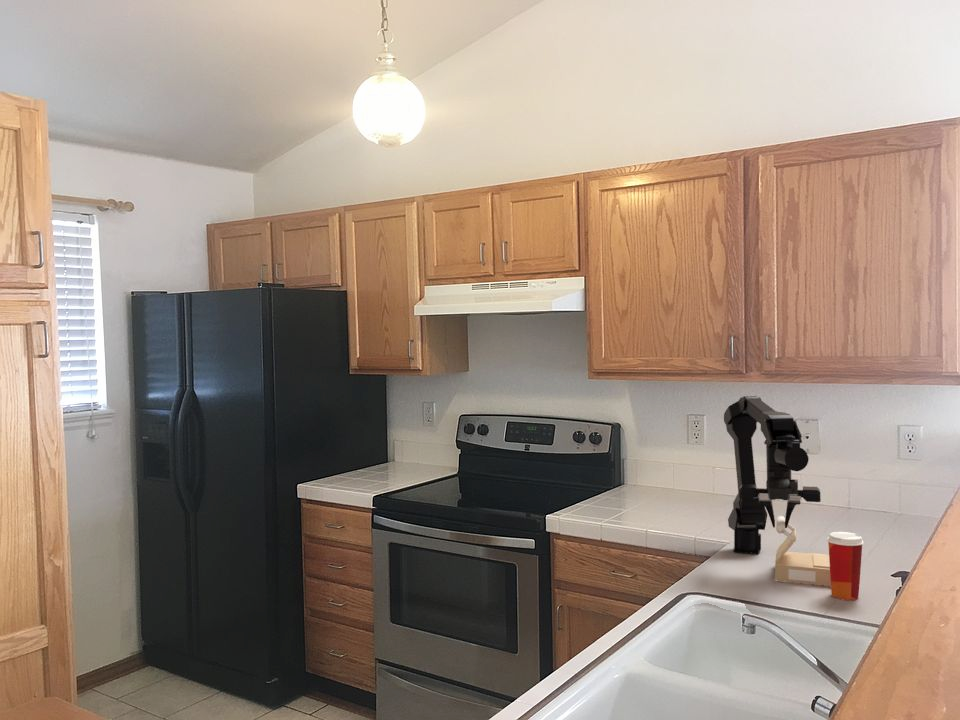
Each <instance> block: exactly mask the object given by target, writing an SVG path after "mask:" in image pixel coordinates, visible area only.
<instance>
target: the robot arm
mask: <svg viewBox="0 0 960 720" xmlns="http://www.w3.org/2000/svg"><path fill="white" fill-rule="evenodd" d="M723 422H724V424H725V427H726V432H727V433H728V435H729V436H730V438H732V440H733V448H734V457H735V458H734V459H735V471H736V481H737V494H736V496H735V499H734V500H733V502H732V504H733V506H732V507H733V508H732V510H731V511H730V514H729V517H728V518H727V521H728V522H727V523H728V527H729V528H730V529H732V530H733V537H734V538H733V539H734V542H733V543H734V544H733V545H734V547H733V550H732V552H734V553H738V554H739V553H740V554H749V555H750V554H751V555H759V554H760V551H761V550H762V533H760V530H762V531H765V530H766V527H767V526H766V524H767V519H768V516H769V519H770V522H771V525H772V527H773V528H774V529H776V519H775V512H774V504H773V501H775V500H782V501H786V511H785V517H784V518H785V529H787V528H788V527H787V526H788V523H789V524H790V519H791V517H792V516H791V515H792V513H793V511H794V509H795V507H796V506H797V505H801V498H803V500H804V501H805V502H808V503H820V502H821V490H820V488H819V487H818V486H806V485H805V486H804V485H803V486H802V489H799V486H798V485H799V484H798V483H799V482H798V481H799V480H798V479H792V471H793V472H801V471H802V470H804V469H806V467H807V466H808V465H809V455H808V453H807V451H806V450H805V449H804V448H802V447H801V444H802V443H803V440H802V437H803V436H802V433H801V431H800V429H799V427H798V424H797V421H796V420H795V418H794V417H793V415H792V414H791V413H787V412H781V411H776V410H775V409H773V408H772V407H770V406H769V405H768V404H767V403H765V402H764V401H763V400H762V398H761V397H760V396H757V395H754V396H753V395H751V396H750V395H749V396H748V395H746V396H742V397H741V396H740V398H739V399H738V400H737V401H735V402H734V403H732V404H730V405H729V406H727V408H726V410H725V411H724V414H723ZM758 423H759V424H760V432H762V434H763V436H764V438H765V441H764V442H763V443H764V445H765V446H766V450H765V452H766V454H765V455H766V483H765V484H766V485H765V486H766V487H765V488H764V487H763V488H759V487H758V488H757V484H756V473H755V471H756V470H755V462H754V450H753V443H752V441H753V440H752V438H753V437H754V434H755V432H756V431H757V428H758V427H757V424H758Z"/></svg>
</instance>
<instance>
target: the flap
mask: <svg viewBox="0 0 960 720" xmlns="http://www.w3.org/2000/svg"><path fill="white" fill-rule="evenodd" d="M787 528H788V529H789V530H790V531H791V532H788V531H787V530H786V528H785V517H784V516H783V515H779V516H777V518H776V523H775V531H776V532H777V533H778V534H783V535H785V537H786V538H785V540H783V542H781V544H780V545H779V546H778V547H777V550H776V551H777V556H776V555H775V562H776V561H777V562H778V561H779V560H780V558H781V557H782V556H783V555H784V554H785V553H786V552H788V551H789V549H790V548H791V547H792V546H793V545H794V543H795V542H796V541H797V530H796V528H795V527H794V526H793V525H792V524H790V522H789V523H788V526H787Z"/></svg>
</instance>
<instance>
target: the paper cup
mask: <svg viewBox="0 0 960 720" xmlns="http://www.w3.org/2000/svg"><path fill="white" fill-rule="evenodd" d="M826 541H827V542H828V555H829V562H830V580H831V586H830V590H831V591H830V592H831V593H830V594H831V596H832V597H833V598H835V597H836V598H835V599H837V598H839V599H838V600H841V599H844V600H845V601H856V600H858V599H859V593H860V582H861V580H860V579H861V568H862V556H863V555H862V552H863V545H864V544H865V543H864V540H863V537H862V536H861V535H859V534H857V533H854V532H848V531H847V532H846V531H832V532H830V533H829V534H828V537H827V538H826ZM844 600H843V601H844Z"/></svg>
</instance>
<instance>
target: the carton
mask: <svg viewBox="0 0 960 720" xmlns="http://www.w3.org/2000/svg"><path fill="white" fill-rule="evenodd" d="M776 556H777V550H776V553H775V557H776ZM774 563H775V565H774V569H775V570H774V571H775V572H774V576H775V577H774V581H775V580H778V581H777V582H779V581H786V582H785V583H789V582H794V583H793V584H800V583H805V584H804V585H810V584H816V585H815V586H821V585H824V586H823V587H831V580H830V562H829V554H826V553H825V554H824V553H814V552H813V553H808V552H797V551H794V552H793V551H786V553H785V554H784V555H783V556H782V557H781V558H780V560H779V561H778V562H777V561H776V560H775V562H774Z"/></svg>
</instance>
